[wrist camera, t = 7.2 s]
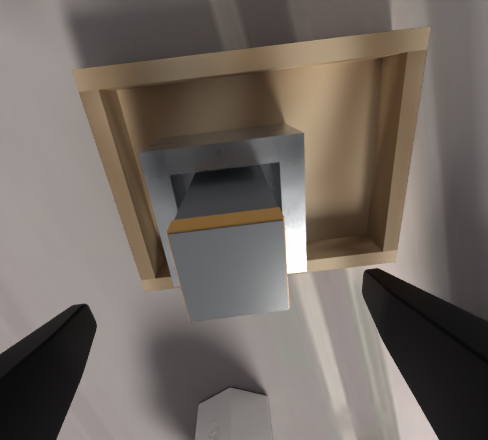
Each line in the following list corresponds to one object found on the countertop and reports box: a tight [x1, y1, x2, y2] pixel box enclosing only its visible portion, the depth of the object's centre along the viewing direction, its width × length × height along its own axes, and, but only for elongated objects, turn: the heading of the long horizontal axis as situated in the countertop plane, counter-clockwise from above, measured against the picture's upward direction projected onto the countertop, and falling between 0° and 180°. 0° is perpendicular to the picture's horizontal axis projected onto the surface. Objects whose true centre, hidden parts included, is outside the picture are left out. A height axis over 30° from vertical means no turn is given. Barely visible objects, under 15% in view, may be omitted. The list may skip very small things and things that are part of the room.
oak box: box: [72, 26, 431, 292], centre depth 18 cm, size 18×14×4 cm
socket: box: [138, 123, 306, 287], centre depth 17 cm, size 8×8×6 cm
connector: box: [166, 165, 289, 322], centre depth 14 cm, size 4×4×8 cm
